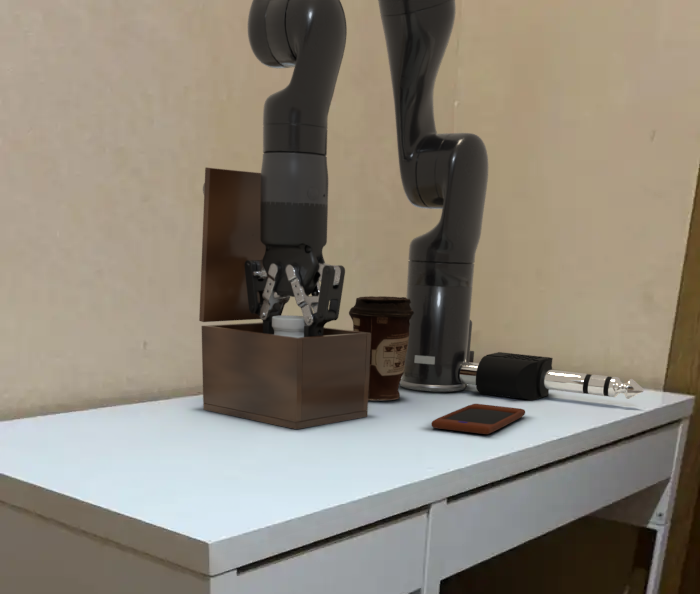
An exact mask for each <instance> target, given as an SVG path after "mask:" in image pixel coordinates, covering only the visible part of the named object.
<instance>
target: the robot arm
mask: <svg viewBox="0 0 700 594" xmlns="http://www.w3.org/2000/svg"><path fill="white" fill-rule="evenodd" d="M377 3H378V9H379V14H380V20H381V26H382V30H383V36H384V40H385V41H384V42H385V47H386V53H387V54H386V55H387V60H388V67H389V73H390V81H391V89H392V96H393V105H394V116H395V117H394V118H395V130H396V131H395V132H396V133H395V134H396V144H397V146H396V147H397V156H398V157H397V159H398V168H399V174H400V175H399V176H400V179H401V186H402V189H403V193H404V194H405V196H406V198H407V200H408V202H409V203H410V204H411V205H412V206H414V207H416V208H419V209H427V210H428V209H429V210H441V214H440V218H439V221H438V223H437V224H436V225H435V226H434V227H433V228H431V229H430V230H428V231H427V232H425V233H423V234H420V235H418V236H416V237H413V239H411V241H410V243H409V248H408V261H407V262H408V263H407V278H406V281H407V282H406V298H407V299H410V301H411V303H410V307H411V309H412V310H413V312H414V314H413V315H412V317H411V319H410V320H409V323H410V326H409V339H408V347H407V353H406V358H405V365H404V372H403V375H402V378H401V381H400V387H402V388H404V389H408V390H413V391H419V392H420V391H421V392H434V393H435V392H436V393H451V392H452V393H453V392H459V391H460V392H461V391H463V390H465V388H467V387H468V384H462V383H461V382H460V378H459V374H460V369H461V366H462V364H463V363H464V362H472V363H474V359H475V351H474V350H471V342H472V329H473V321H472V320H471V310H472V299H473V285H474V272H475V262H476V253H477V250H478V246H479V243H480V240H481V234H482V228H483V227H482V226H483V221H484V219H483V218H484V211H485V205H486V204H485V203H486V198H487V190H488V181H489V155H488V150H487V148H486V145H485V142H484V140H483V139H482V137H480V136H479V135H478V134H476V133H473V132H449V133H447V132H446V133H445V132H444V133H438V132H437V128H436V121H435V110H434V93H435V85H436V80H437V77H438V73H439V70H440V67H441V64H442V63H443V59H444V56H445V53H446V51H447V48H448V45H449V42H450V39H451V36H452V33H453V28H454V26H455V25H454V24H455V20H456V12H457V10H456V9H457V8H456V7H457V6H456V0H377ZM347 27H348V26H347V19H346V14H345V10H344V6H343V4H342V2H341V0H252V1H251V5H250V8H249V12H248V17H247V38H248V43H249V46H250V49H251V51H252V53H253V56H254V57H255V58H256V59H257V61H259V63H261V64H262V65H264V66H266V67H268V68H271V69H293V72H292V75H291V78H290V81H289V82H288V84H287V85H286V87H284V88H282V89H280V90H278V91H276V92H273V93H272V94H269V96H268V97H267V98H266V99H265V101H264V105H263V112H262V153H263V154H262V162H261V170H260V173H261V202H260V213H261V214H260V239H261V242H262V243H263V244H264V245H265V246H266V250H265V255H264V257H263V260H247V261H246V262H245V265H244V266H245V275H246V285H247V294H248V303H249V311H250V312H251V313H252V314H255V313H256V314H257V315H259V316H260V318H261V319H260V320H262V321H261V322H263V333H267V334H274V329H273V327H272V317H273V316H282V315H283V311H284V308H285V305H286V304H288V303H289V301H290V299H291V298H294V299H295V304H296V305H297V306H298V307H299V308H300V310H301V313H302V316H303V317H304V320H305V323H306V325H307V326H304V337H312V336H323V331H324V327H325V326H326V324H327V323H330V322H333V321H337V320H338V319H339V315H340V309H341V303H342V297H343V288H344V283H345V276H346V268H345V267H344V265H341V264H338V265H335V264H334V265H333V264H329V263H326V261H325V257H324V255H323V249H324V247H326V245H327V244H328V218H329V217H328V216H329V215H328V211H329V170H328V157H327V156H328V125H329V123H328V121H329V120H328V119H329V112H330V108H331V105H332V101H333V97H334V93H335V89H336V85H337V81H338V76H339V75H340V70H341V66H342V62H343V58H344V56H345V55H344V53H345V50H346V43H347V34H348V33H347V31H348V30H347V29H348V28H347ZM267 276H268V278H267ZM257 292H259V296H260V303H258V296H257ZM273 305H274V306H273ZM272 307H273V308H272Z"/></svg>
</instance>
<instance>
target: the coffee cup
mask: <svg viewBox="0 0 700 594" xmlns="http://www.w3.org/2000/svg"><path fill="white" fill-rule="evenodd" d="M410 303H411V301H410V299H407V298H406V297H405V296H381V295H379V296H373V295H371V296H370V295H369V296H359V297H356V299H355V303H354V305H353V306H352V307H351V308H350V309H349V311H348V315H349V317H350V318H351V320H352V331H359V332H368V333H371V345H370V367H369V390H368V401H377V402H378V401H392V400H393V401H394V400H398V399H400V396H401V394H400V391H399V387H400V385H401V378H402V375H403V372H404V365H405V358H406V353H407V347H408V339H409V326H410V323H409V320H410V319H411V317H412V315H413V314H414V312H413V310H412V309H411V307H410Z"/></svg>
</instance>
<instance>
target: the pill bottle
mask: <svg viewBox="0 0 700 594" xmlns="http://www.w3.org/2000/svg"><path fill="white" fill-rule="evenodd" d="M304 326H307V325H306V323H305V320H304V317H303V315H289V314H288V315H286V314H285V315H284V314H281V316H273V317H272V327H273V329H274V335H282V336H289V337H297V338H299V337H304Z"/></svg>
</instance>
